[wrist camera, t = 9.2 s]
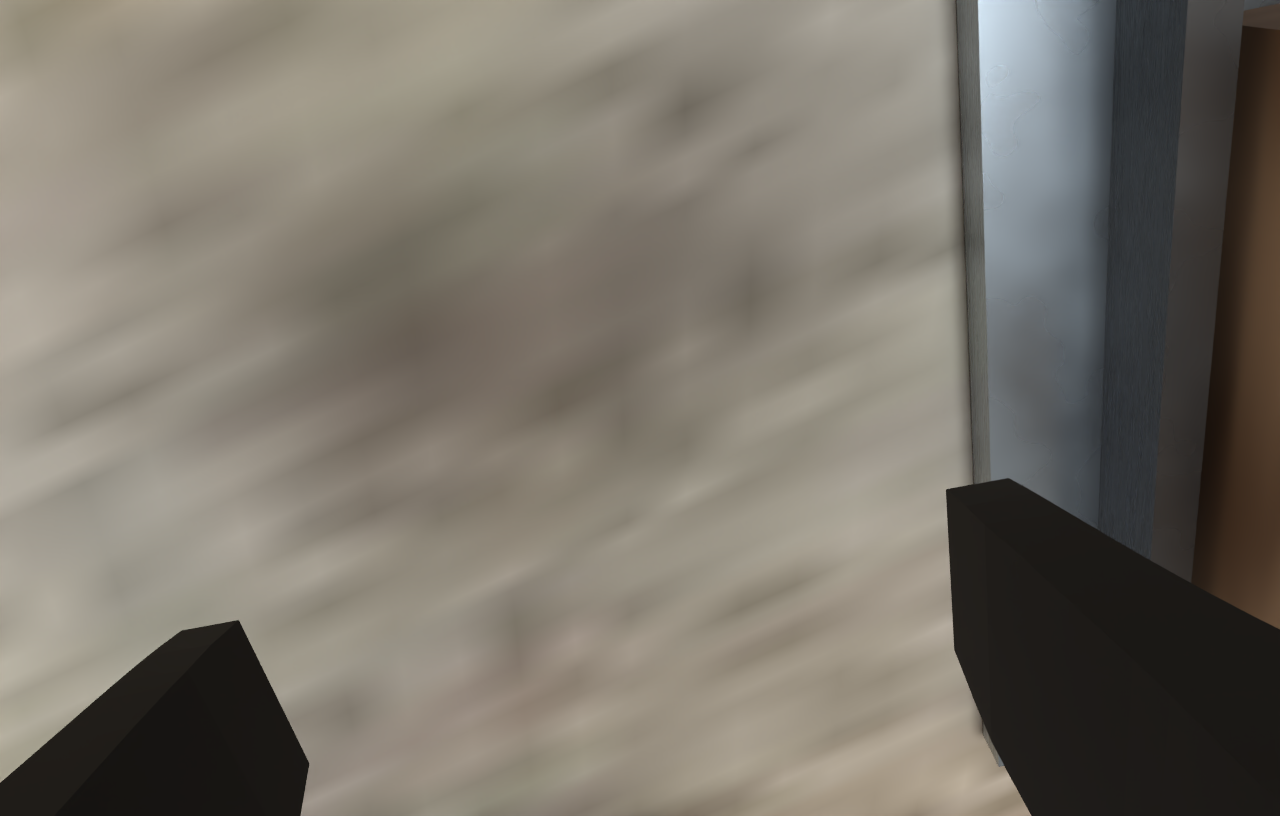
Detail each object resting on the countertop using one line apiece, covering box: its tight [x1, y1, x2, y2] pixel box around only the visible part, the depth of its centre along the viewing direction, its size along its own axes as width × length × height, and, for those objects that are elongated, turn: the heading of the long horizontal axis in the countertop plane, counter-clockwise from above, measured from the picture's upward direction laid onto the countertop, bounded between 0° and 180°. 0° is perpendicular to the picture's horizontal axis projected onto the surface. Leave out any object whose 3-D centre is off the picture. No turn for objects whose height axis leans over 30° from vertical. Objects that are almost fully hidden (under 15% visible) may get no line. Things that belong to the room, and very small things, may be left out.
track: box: [956, 0, 1280, 767], centre depth 17 cm, size 20×10×3 cm, turn 11°
